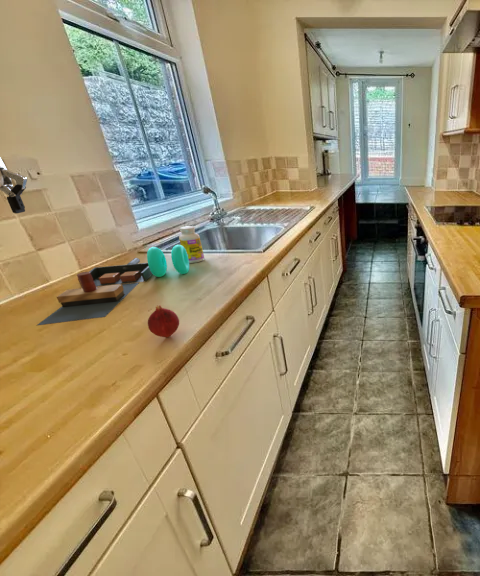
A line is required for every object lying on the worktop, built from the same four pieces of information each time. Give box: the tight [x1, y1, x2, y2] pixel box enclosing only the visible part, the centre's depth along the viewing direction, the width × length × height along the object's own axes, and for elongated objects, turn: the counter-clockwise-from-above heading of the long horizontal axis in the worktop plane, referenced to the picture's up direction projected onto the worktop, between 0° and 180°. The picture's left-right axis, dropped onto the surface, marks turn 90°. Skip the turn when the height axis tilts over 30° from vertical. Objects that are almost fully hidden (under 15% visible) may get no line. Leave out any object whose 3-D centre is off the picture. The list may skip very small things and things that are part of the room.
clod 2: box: [120, 271, 141, 282], centre depth 103 cm, size 4×4×2 cm
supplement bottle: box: [178, 225, 205, 264], centre depth 119 cm, size 7×7×13 cm
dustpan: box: [77, 257, 153, 288], centre depth 108 cm, size 20×17×3 cm
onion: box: [147, 304, 180, 338], centre depth 71 cm, size 6×6×8 cm
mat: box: [36, 282, 141, 326], centre depth 89 cm, size 14×24×1 cm, turn 17°
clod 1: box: [99, 273, 120, 284], centre depth 102 cm, size 4×4×2 cm
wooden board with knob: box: [56, 271, 124, 307], centre depth 87 cm, size 13×5×8 cm, turn 106°
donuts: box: [146, 244, 190, 278], centre depth 106 cm, size 10×10×10 cm
